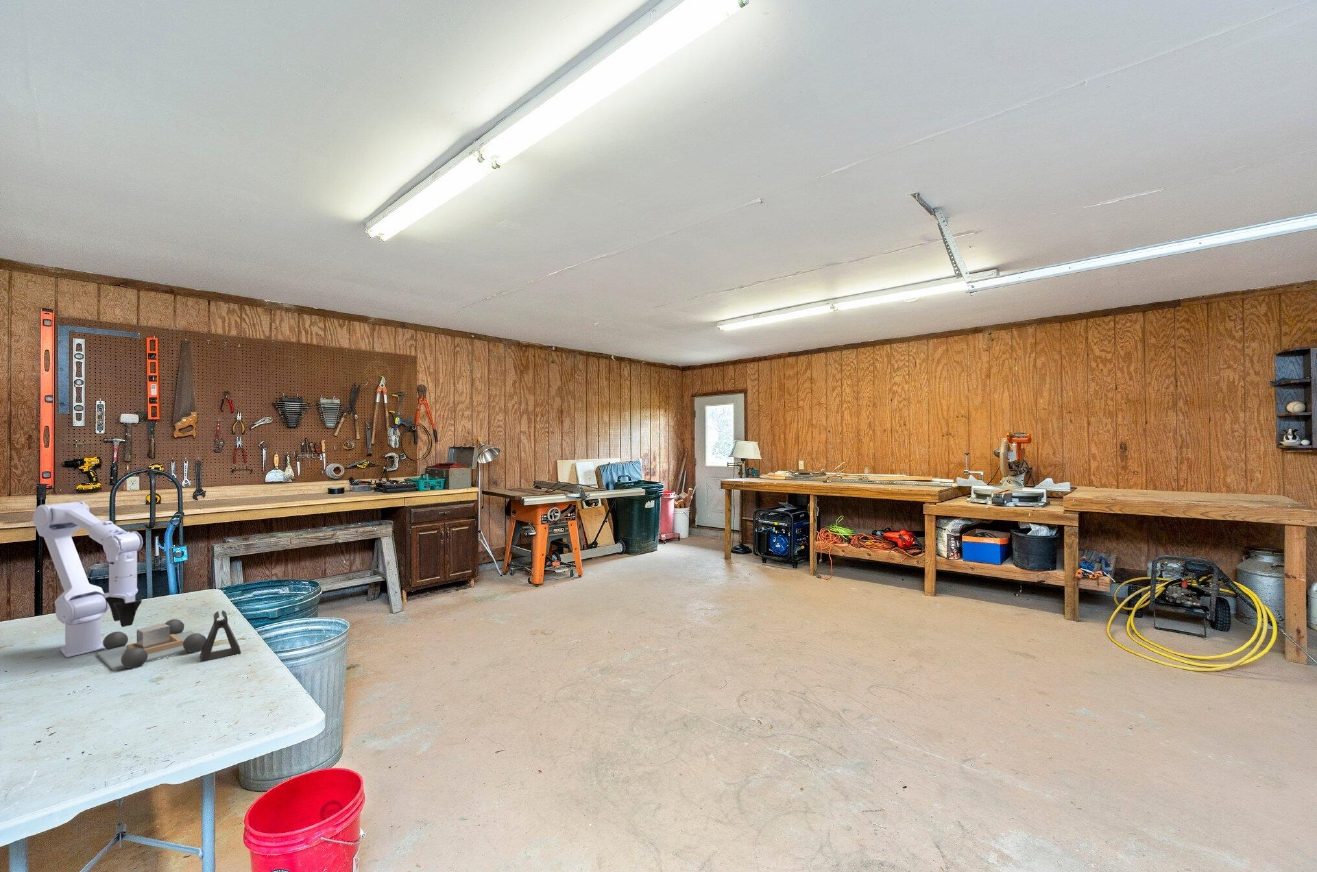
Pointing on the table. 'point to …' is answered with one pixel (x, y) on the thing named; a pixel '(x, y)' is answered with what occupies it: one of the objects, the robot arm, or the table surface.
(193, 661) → the table surface
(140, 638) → the block
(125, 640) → the chassis board
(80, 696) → the table surface
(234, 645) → the phone stand
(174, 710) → the table surface
